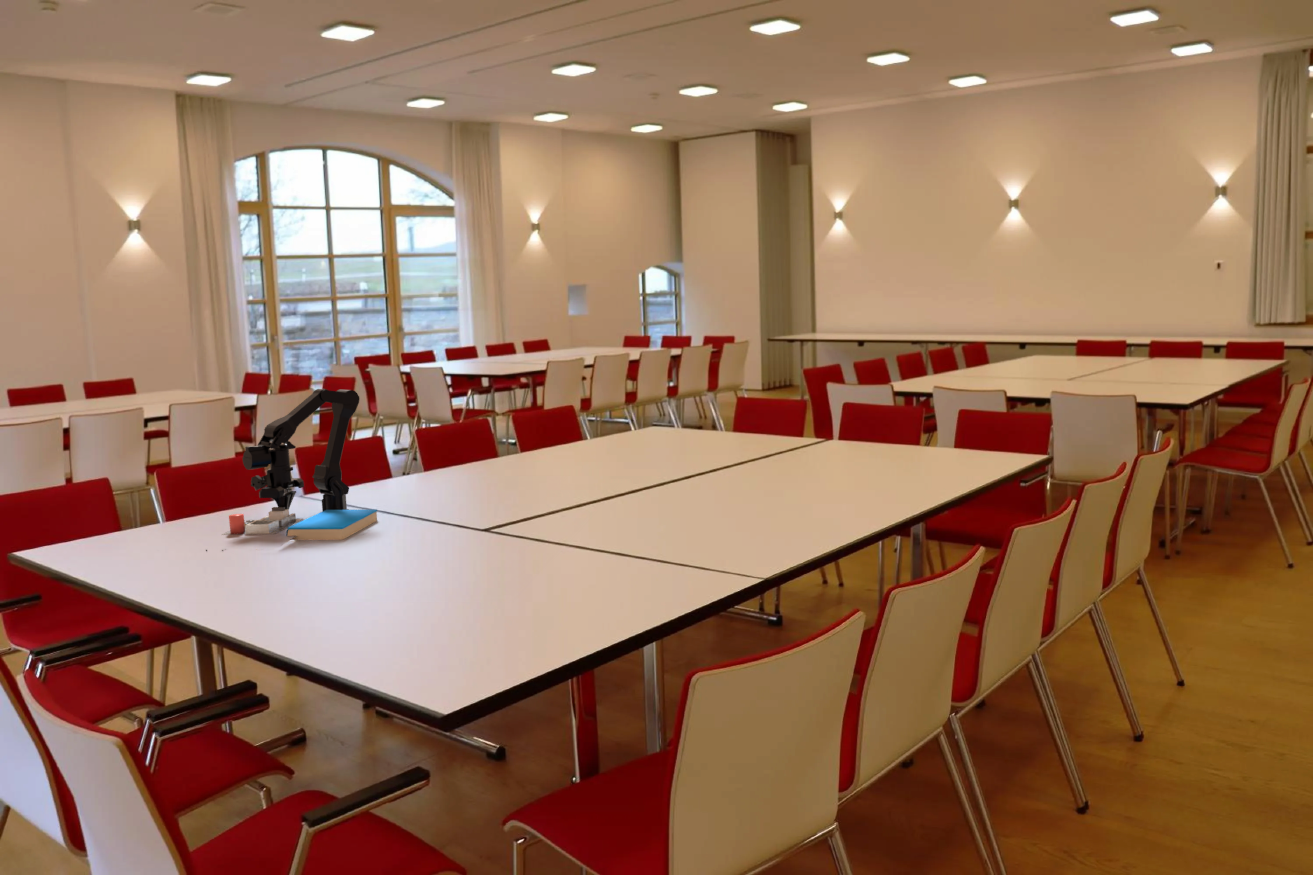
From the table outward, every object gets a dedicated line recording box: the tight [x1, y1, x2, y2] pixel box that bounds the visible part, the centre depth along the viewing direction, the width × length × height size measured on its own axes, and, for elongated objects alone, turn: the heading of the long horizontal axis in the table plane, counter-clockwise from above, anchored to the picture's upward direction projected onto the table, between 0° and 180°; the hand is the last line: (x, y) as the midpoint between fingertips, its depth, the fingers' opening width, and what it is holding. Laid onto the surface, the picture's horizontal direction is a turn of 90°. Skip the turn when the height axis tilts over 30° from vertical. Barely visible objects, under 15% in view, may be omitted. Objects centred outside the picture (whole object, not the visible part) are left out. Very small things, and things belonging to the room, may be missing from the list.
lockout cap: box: [228, 513, 245, 534], centre depth 311 cm, size 4×4×5 cm
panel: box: [221, 512, 303, 536], centre depth 317 cm, size 16×20×4 cm
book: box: [285, 508, 378, 541], centre depth 315 cm, size 17×4×25 cm
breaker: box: [268, 506, 290, 520], centre depth 322 cm, size 4×4×4 cm
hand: (284, 516), depth 326 cm, fingers closed
